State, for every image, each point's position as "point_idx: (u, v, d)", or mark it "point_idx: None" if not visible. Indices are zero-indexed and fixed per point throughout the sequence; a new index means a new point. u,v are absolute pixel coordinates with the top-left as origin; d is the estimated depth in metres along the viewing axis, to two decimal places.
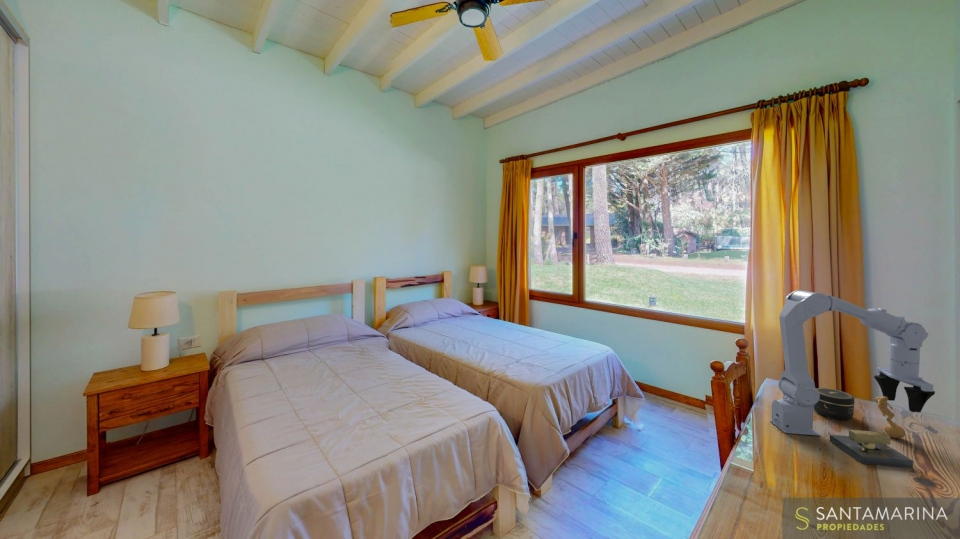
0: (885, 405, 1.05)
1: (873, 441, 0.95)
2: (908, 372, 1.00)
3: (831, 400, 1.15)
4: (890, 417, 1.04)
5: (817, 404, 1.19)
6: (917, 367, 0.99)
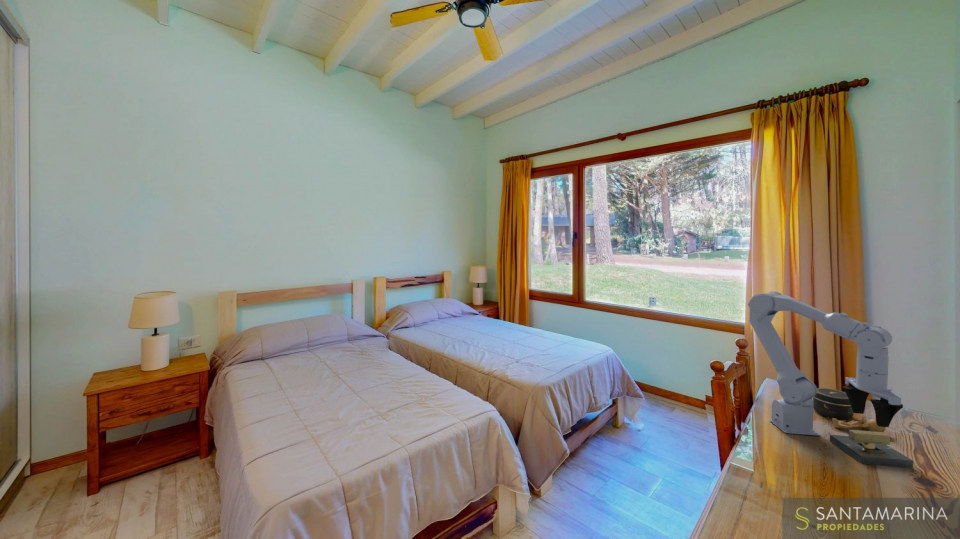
0: (844, 422, 1.09)
1: (873, 441, 0.95)
2: (876, 383, 0.93)
3: (831, 400, 1.15)
4: (858, 423, 1.07)
5: (817, 404, 1.19)
6: (885, 378, 0.92)
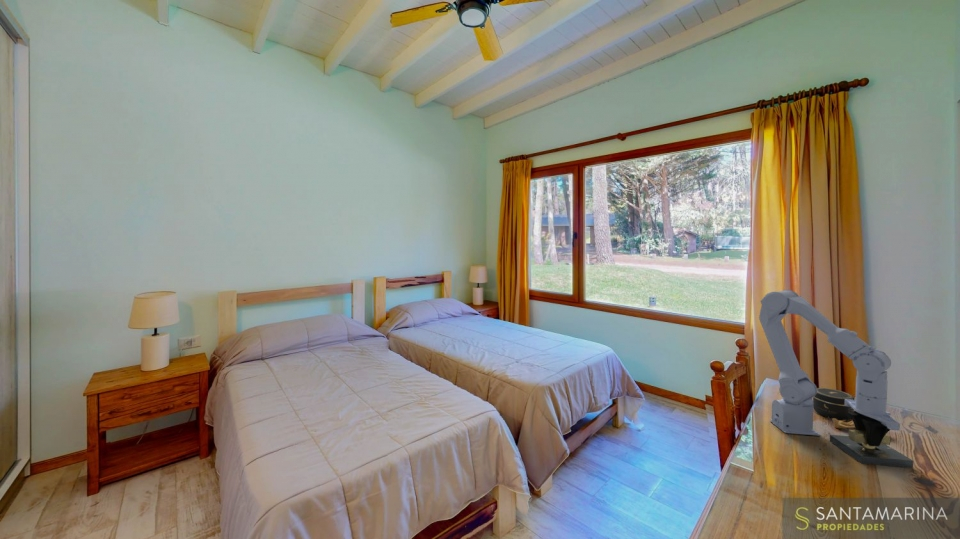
0: (844, 422, 1.09)
1: None
2: (875, 407, 0.93)
3: (831, 400, 1.15)
4: None
5: (817, 404, 1.19)
6: (884, 402, 0.93)
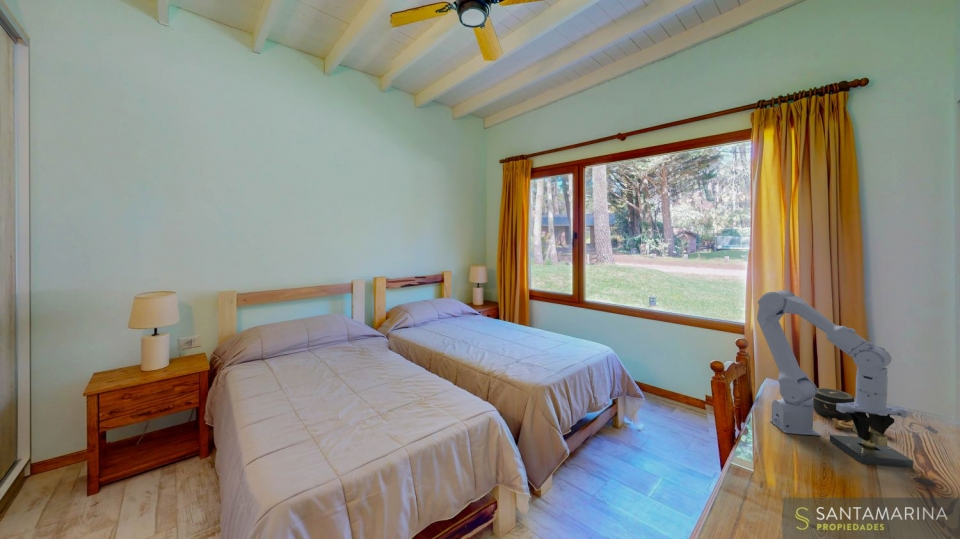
0: (844, 422, 1.09)
1: None
2: (855, 398, 0.97)
3: (831, 400, 1.15)
4: None
5: (817, 404, 1.19)
6: (863, 395, 0.95)
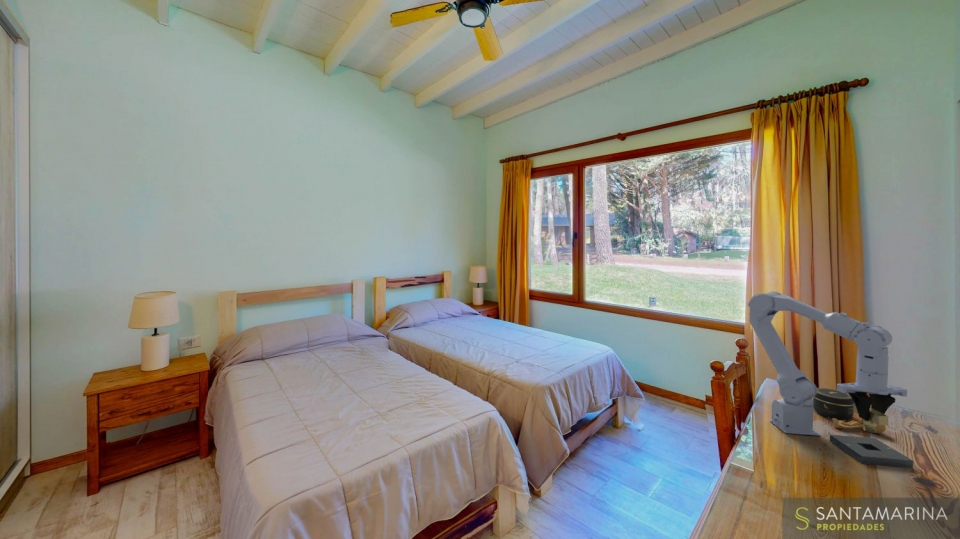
0: (844, 422, 1.09)
1: None
2: (856, 378, 0.97)
3: (831, 400, 1.15)
4: (859, 423, 1.07)
5: (817, 404, 1.19)
6: (864, 375, 0.94)
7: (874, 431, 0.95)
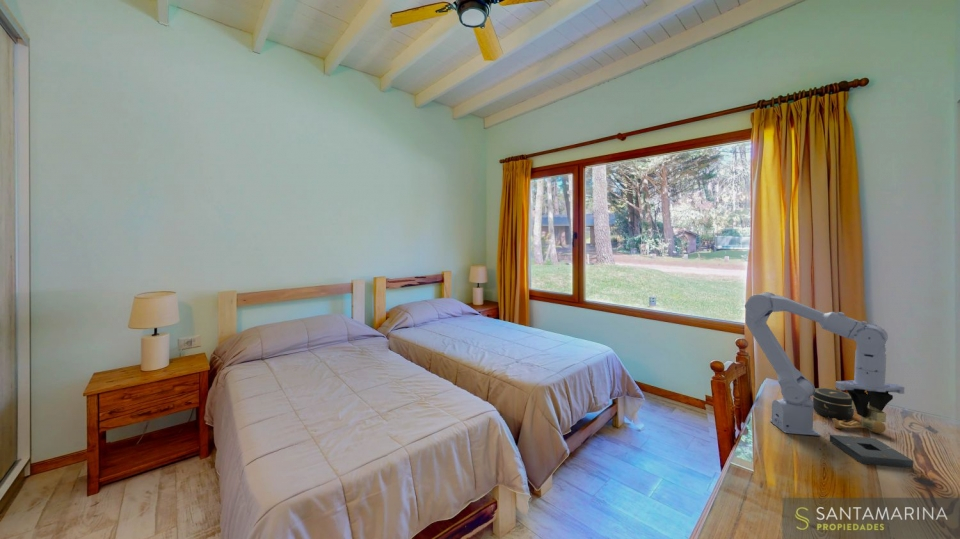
0: (844, 422, 1.09)
1: None
2: (854, 376, 0.98)
3: (831, 400, 1.15)
4: (859, 423, 1.07)
5: (817, 404, 1.19)
6: (862, 373, 0.96)
7: (872, 428, 0.96)
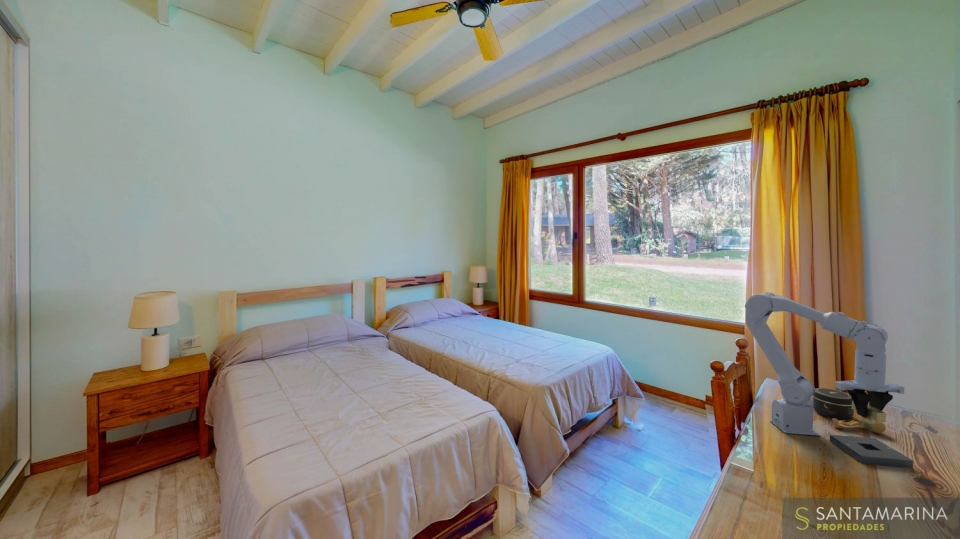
0: (844, 422, 1.09)
1: None
2: (854, 376, 0.98)
3: (831, 400, 1.15)
4: (859, 423, 1.07)
5: (817, 404, 1.19)
6: (862, 373, 0.96)
7: (872, 428, 0.96)
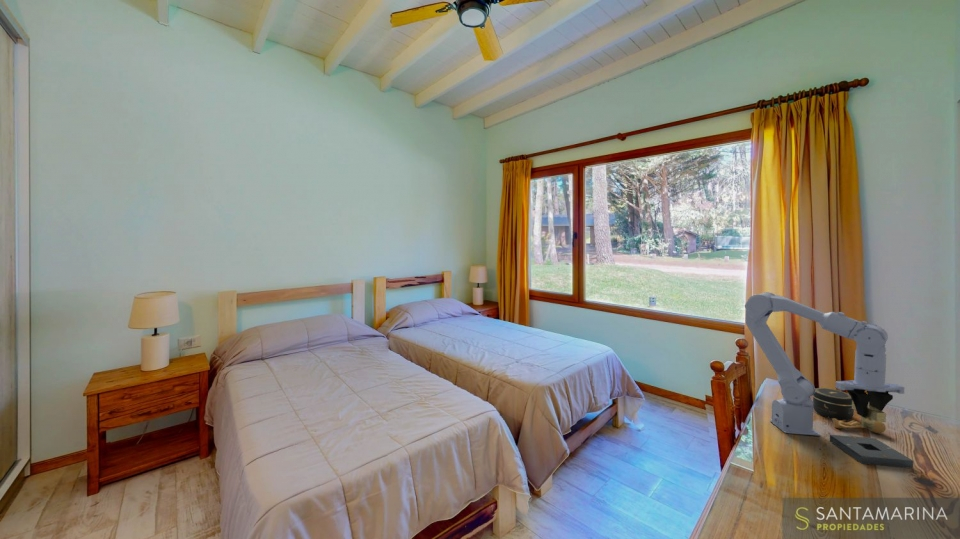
0: (844, 422, 1.09)
1: None
2: (854, 376, 0.98)
3: (831, 400, 1.15)
4: (859, 423, 1.07)
5: (817, 404, 1.19)
6: (862, 373, 0.96)
7: (872, 428, 0.96)
